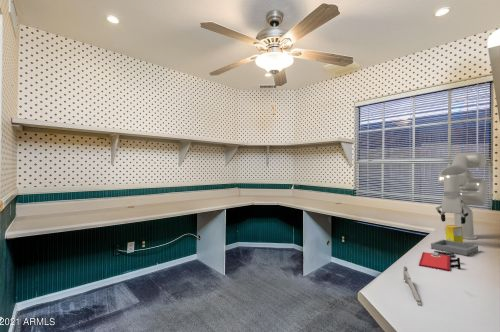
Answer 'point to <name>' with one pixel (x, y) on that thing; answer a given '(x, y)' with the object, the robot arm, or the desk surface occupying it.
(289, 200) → the desk surface
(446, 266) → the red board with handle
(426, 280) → the desk surface
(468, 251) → the tray
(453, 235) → the supplement box
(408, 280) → the caliper
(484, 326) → the desk surface
